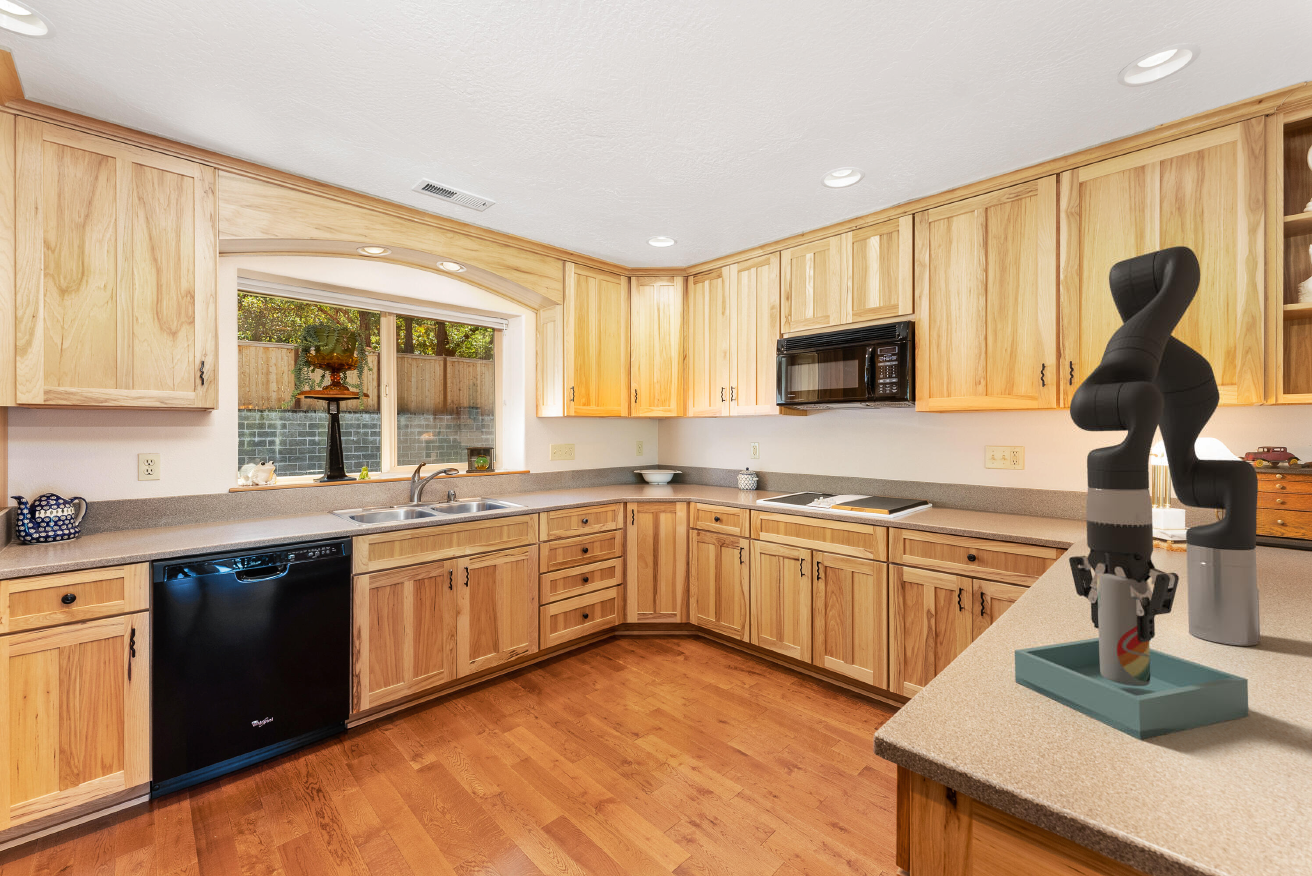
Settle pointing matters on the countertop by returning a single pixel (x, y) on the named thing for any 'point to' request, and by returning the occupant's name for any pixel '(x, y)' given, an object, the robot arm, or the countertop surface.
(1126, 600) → the lotion bottle
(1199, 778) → the countertop surface
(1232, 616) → the robot arm
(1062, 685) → the tray
